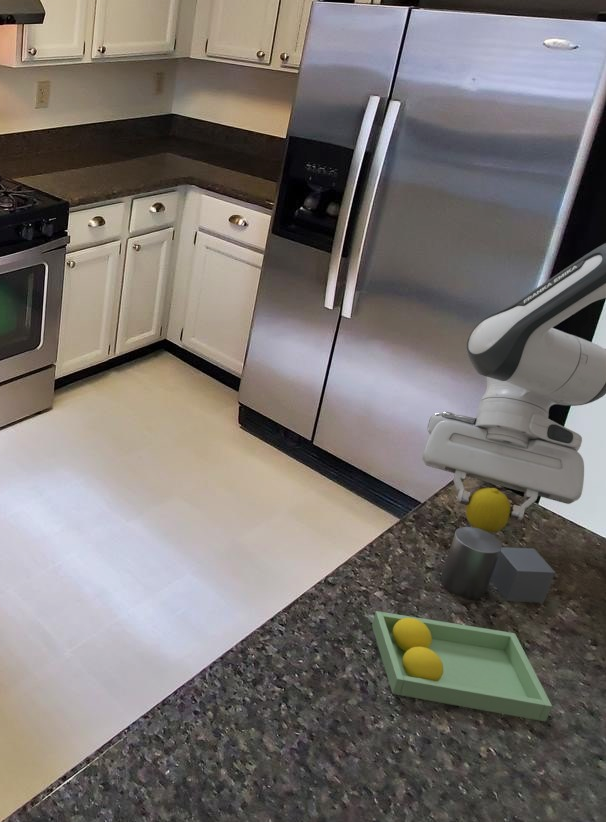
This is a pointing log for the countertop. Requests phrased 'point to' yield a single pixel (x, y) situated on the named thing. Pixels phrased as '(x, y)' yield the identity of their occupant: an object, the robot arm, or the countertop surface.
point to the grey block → (522, 575)
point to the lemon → (488, 509)
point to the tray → (467, 669)
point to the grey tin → (470, 563)
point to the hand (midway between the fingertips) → (488, 510)
